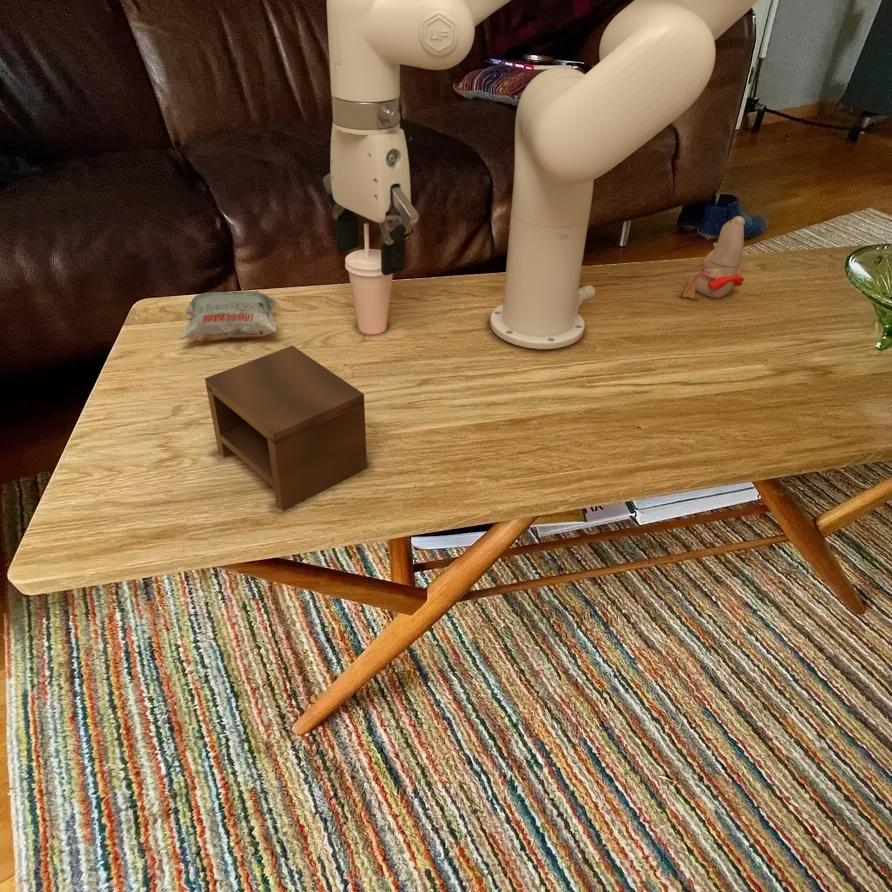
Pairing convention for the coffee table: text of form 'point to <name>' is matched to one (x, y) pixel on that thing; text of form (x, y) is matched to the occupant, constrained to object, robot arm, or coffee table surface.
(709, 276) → the figurine
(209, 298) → the packaged food
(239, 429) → the box
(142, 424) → the coffee table surface
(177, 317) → the coffee table surface
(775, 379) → the coffee table surface
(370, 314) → the smoothie
